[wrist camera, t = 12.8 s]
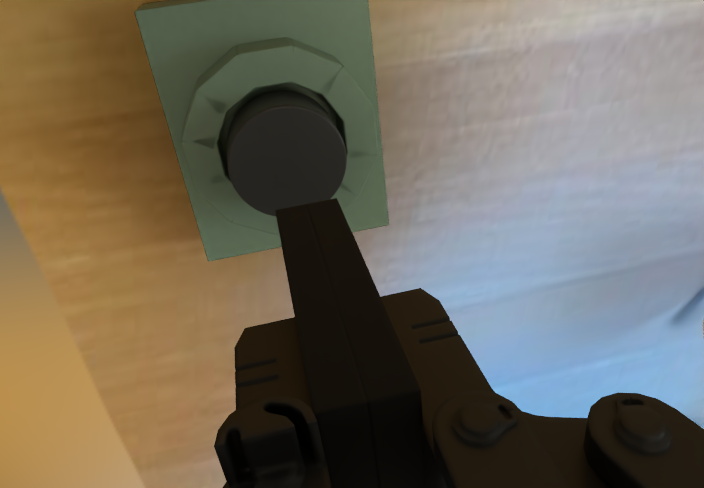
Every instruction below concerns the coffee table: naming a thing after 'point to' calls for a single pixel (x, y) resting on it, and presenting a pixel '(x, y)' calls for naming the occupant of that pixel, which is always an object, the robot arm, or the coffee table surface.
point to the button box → (253, 80)
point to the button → (284, 152)
